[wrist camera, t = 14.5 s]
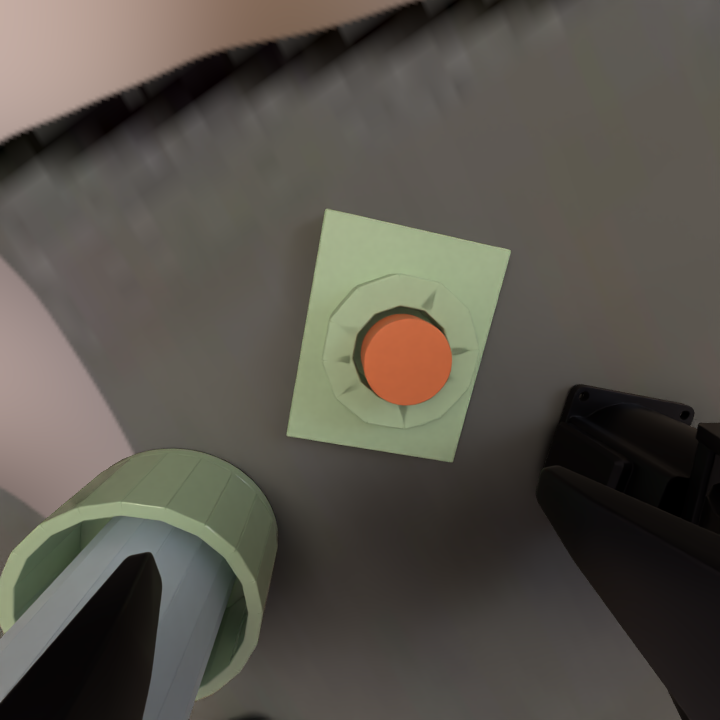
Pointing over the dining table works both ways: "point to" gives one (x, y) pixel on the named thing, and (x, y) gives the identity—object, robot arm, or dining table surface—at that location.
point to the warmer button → (405, 359)
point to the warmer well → (178, 508)
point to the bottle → (176, 617)
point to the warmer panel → (376, 301)
